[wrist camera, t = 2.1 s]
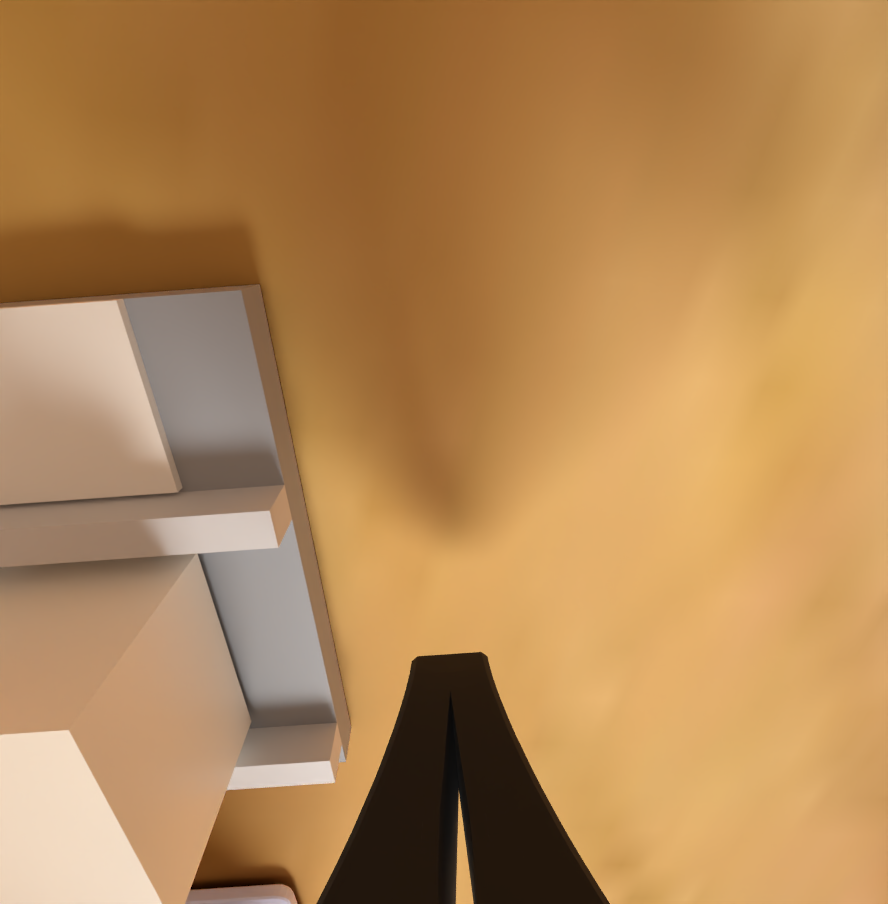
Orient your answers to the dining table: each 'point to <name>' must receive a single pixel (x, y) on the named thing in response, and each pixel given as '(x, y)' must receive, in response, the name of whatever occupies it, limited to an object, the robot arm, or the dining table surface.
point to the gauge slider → (112, 729)
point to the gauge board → (178, 488)
